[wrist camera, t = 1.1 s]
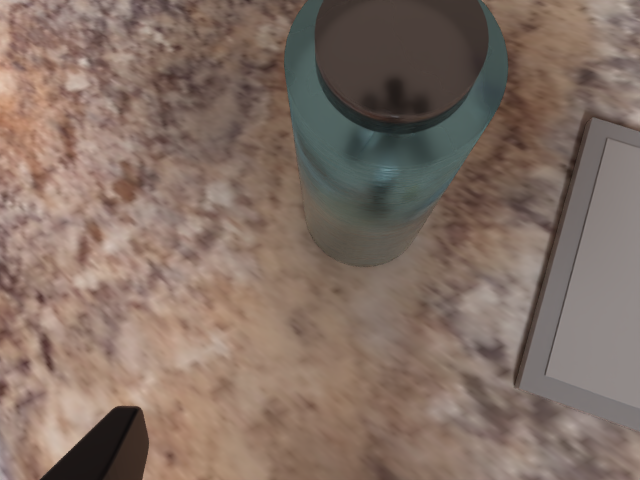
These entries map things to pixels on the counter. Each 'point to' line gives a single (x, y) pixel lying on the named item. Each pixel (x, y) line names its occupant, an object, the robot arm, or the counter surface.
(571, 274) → the coaster
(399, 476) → the counter surface
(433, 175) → the bottle
